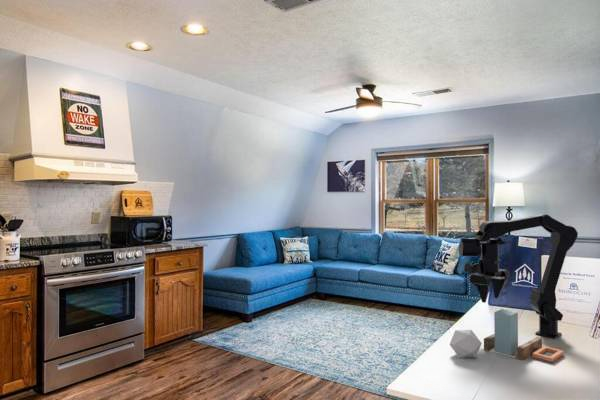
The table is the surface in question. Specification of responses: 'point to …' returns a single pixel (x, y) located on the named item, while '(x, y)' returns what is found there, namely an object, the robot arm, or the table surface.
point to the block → (506, 332)
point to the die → (465, 343)
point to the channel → (522, 350)
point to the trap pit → (548, 354)
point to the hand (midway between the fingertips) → (490, 300)
